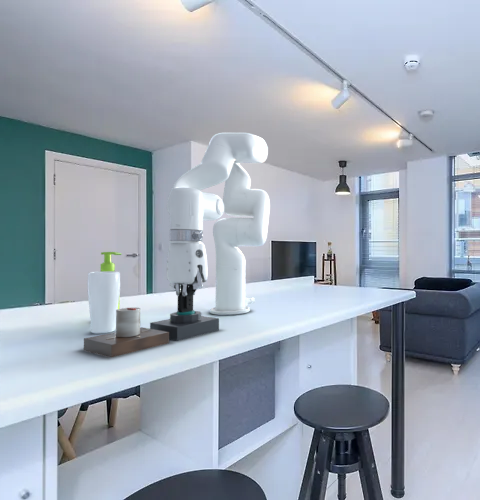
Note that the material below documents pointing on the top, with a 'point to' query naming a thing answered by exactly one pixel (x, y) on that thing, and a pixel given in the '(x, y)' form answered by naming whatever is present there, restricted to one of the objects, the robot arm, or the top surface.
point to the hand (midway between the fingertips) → (185, 311)
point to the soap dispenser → (109, 264)
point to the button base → (186, 325)
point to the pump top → (186, 313)
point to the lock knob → (127, 322)
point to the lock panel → (125, 342)
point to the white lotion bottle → (103, 300)
